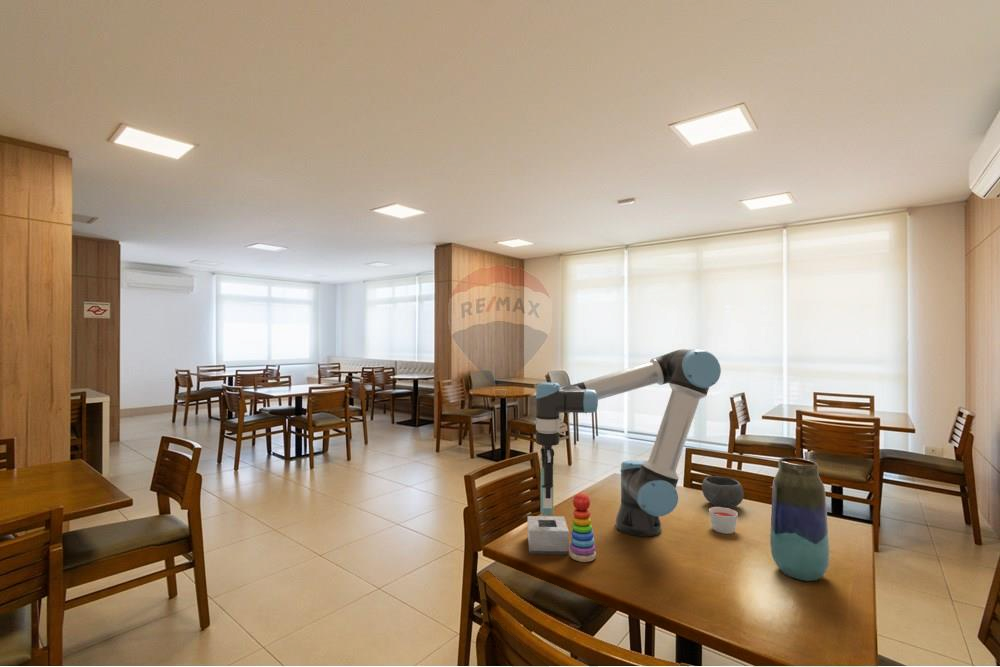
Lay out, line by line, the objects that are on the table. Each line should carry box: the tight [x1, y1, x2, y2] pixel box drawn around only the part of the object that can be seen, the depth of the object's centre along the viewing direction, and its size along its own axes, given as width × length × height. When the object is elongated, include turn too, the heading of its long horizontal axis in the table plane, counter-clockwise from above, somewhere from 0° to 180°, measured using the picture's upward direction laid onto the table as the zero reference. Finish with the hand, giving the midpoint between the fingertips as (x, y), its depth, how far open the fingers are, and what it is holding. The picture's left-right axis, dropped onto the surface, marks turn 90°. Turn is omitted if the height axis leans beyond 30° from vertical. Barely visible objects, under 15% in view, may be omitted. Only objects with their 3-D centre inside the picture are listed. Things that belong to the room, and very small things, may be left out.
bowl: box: [701, 475, 745, 509], centre depth 181 cm, size 15×15×10 cm
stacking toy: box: [569, 492, 597, 563], centre depth 137 cm, size 8×8×19 cm
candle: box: [708, 506, 739, 535], centre depth 158 cm, size 9×9×6 cm
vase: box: [770, 457, 831, 582], centre depth 128 cm, size 14×14×31 cm
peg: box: [540, 467, 554, 516], centre depth 145 cm, size 4×4×14 cm
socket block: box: [527, 515, 570, 556], centre depth 145 cm, size 12×12×7 cm
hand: (547, 505), depth 145 cm, fingers closed on peg, 4 cm apart
